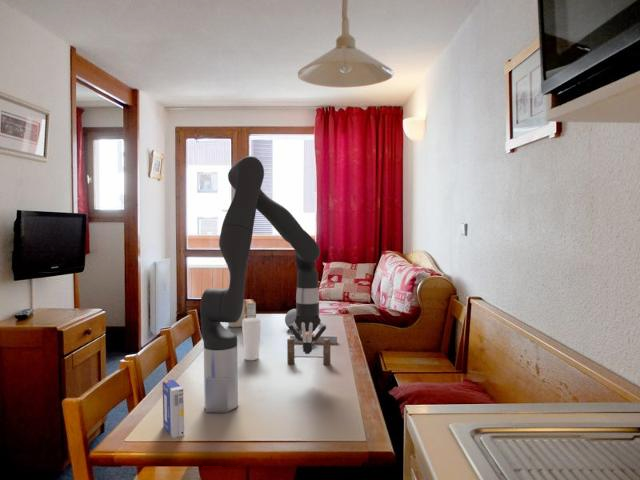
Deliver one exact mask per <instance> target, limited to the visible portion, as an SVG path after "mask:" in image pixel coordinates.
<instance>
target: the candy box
mask: <svg viewBox="0 0 640 480" xmlns="http://www.w3.org/2000/svg"><path fill="white" fill-rule="evenodd" d="M244 305H245V318H257V303H256V301H254V299H252V298H251V299H250V298H249V299H244Z"/></svg>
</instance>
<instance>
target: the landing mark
mask: <svg viewBox="0 0 640 480" xmlns="http://www.w3.org/2000/svg"><path fill="white" fill-rule="evenodd" d="M294 347H295V358H323V345H320V346H319V345H312V351H311V352H310V354H305V352H303V345H295V346H294Z"/></svg>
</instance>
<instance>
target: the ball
mask: <svg viewBox="0 0 640 480" xmlns="http://www.w3.org/2000/svg"><path fill="white" fill-rule="evenodd" d="M308 333H309V332H307V341H308ZM315 335H316V334H315V333H314V332H313V337H314V336H315ZM302 337H303V336H302ZM314 342H315V341H313V342H312V345H314V344H315V343H314ZM301 344H303V342H302V343H301Z"/></svg>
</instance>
